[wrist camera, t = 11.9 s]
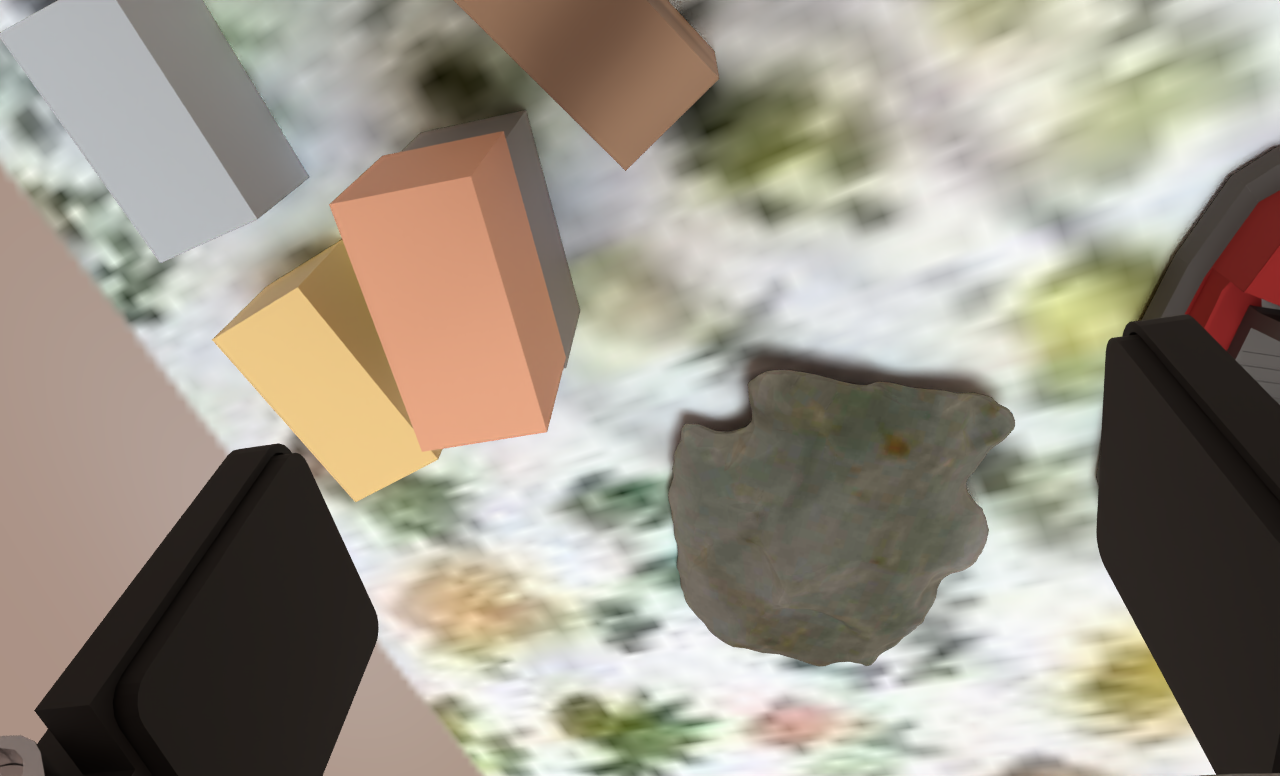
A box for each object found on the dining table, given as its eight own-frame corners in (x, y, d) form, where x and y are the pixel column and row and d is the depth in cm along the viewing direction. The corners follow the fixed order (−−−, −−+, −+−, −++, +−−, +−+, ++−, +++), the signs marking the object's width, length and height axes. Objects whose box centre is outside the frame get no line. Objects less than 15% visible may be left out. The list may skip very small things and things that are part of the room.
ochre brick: (267, 285, 38) (211, 339, 33) (344, 237, 36) (297, 287, 32) (391, 434, 41) (355, 501, 36) (465, 394, 40) (437, 459, 35)
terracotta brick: (382, 155, 30) (329, 204, 25) (503, 130, 29) (471, 176, 25) (456, 376, 33) (421, 451, 29) (566, 357, 33) (547, 431, 28)
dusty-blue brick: (89, 12, 33) (-3, 33, 28) (181, -38, 32) (101, -23, 28) (224, 215, 36) (160, 263, 32) (310, 176, 35) (257, 219, 31)
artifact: (699, 321, 38) (640, 600, 45) (696, 364, 35) (633, 660, 42) (1031, 382, 38) (919, 652, 45) (1061, 432, 35) (934, 715, 42)
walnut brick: (464, -40, 32) (427, -25, 27) (543, -136, 30) (519, -138, 26) (633, 132, 34) (625, 170, 30) (714, 50, 33) (719, 78, 28)
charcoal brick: (421, 132, 34) (382, 169, 30) (526, 109, 34) (502, 144, 29) (484, 328, 38) (458, 386, 34) (580, 310, 37) (566, 368, 33)
